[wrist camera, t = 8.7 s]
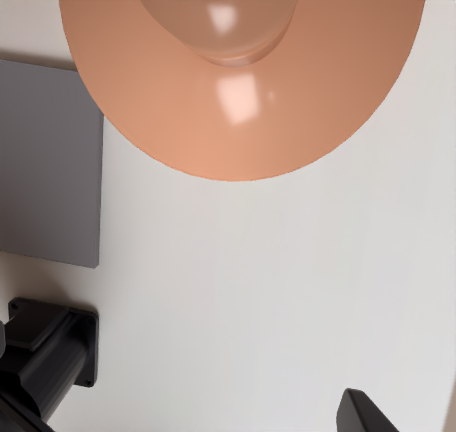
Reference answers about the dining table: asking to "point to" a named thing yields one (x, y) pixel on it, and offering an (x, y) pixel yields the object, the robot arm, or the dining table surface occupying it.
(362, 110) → the lid
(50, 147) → the mat
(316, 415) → the dining table surface
